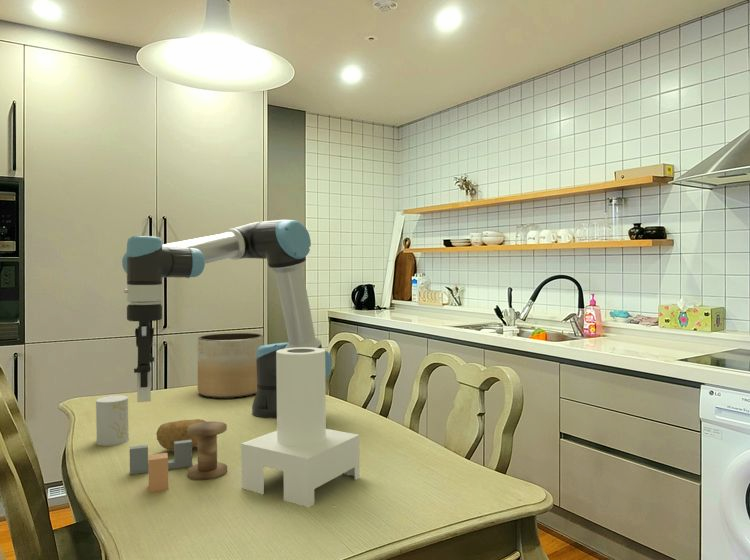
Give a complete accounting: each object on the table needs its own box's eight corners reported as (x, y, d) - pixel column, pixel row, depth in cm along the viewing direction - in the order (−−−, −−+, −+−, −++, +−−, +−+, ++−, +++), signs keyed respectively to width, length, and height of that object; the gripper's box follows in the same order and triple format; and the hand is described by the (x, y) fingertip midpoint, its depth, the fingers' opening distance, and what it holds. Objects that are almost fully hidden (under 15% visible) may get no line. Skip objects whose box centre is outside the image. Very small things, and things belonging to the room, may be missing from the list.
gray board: (191, 463, 138) (191, 439, 138) (192, 466, 137) (191, 441, 137) (130, 471, 133) (129, 446, 133) (129, 474, 131) (129, 449, 131)
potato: (216, 449, 149) (215, 419, 149) (161, 460, 141) (161, 428, 141) (204, 440, 157) (203, 412, 157) (151, 450, 149) (151, 420, 149)
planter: (185, 398, 208) (184, 339, 208) (215, 384, 233) (215, 332, 233) (249, 401, 204) (249, 340, 203) (273, 386, 229) (273, 332, 228)
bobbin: (224, 463, 138) (223, 419, 138) (229, 476, 130) (229, 429, 130) (186, 469, 135) (185, 423, 134) (189, 482, 126) (188, 434, 126)
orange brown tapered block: (167, 483, 126) (167, 452, 126) (168, 489, 123) (167, 457, 122) (148, 486, 124) (148, 455, 124) (148, 492, 121) (148, 460, 121)
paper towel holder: (308, 507, 113) (307, 360, 112) (241, 488, 123) (240, 353, 122) (359, 477, 129) (358, 348, 128) (296, 463, 139) (295, 343, 138)
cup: (116, 446, 152) (115, 402, 152) (90, 444, 154) (89, 401, 154) (134, 437, 160) (134, 396, 160) (109, 436, 162) (109, 395, 162)
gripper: (129, 301, 139) (129, 386, 139) (123, 306, 115) (123, 408, 116) (161, 300, 141) (161, 384, 141) (162, 305, 118) (162, 405, 118)
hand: (144, 395), depth 129 cm, fingers open, 13 cm apart
